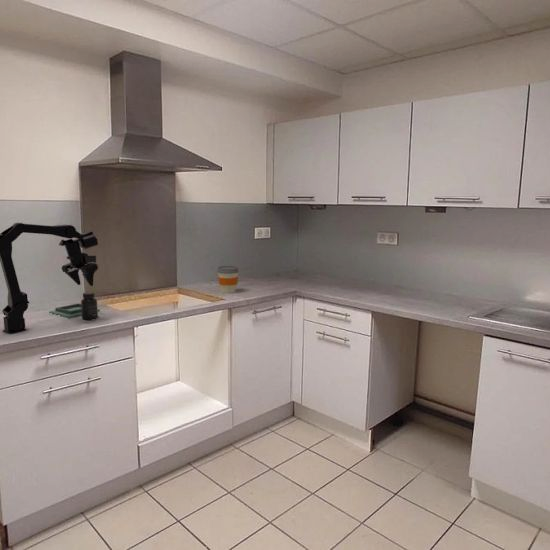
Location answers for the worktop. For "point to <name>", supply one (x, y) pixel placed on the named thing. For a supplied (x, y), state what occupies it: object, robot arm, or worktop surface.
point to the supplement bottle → (89, 306)
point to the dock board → (68, 311)
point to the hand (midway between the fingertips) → (85, 285)
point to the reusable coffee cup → (228, 278)
